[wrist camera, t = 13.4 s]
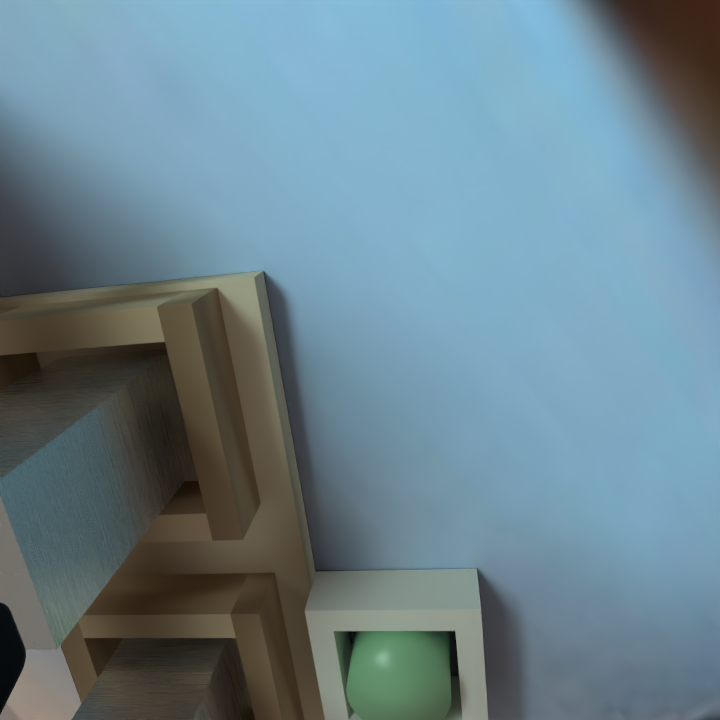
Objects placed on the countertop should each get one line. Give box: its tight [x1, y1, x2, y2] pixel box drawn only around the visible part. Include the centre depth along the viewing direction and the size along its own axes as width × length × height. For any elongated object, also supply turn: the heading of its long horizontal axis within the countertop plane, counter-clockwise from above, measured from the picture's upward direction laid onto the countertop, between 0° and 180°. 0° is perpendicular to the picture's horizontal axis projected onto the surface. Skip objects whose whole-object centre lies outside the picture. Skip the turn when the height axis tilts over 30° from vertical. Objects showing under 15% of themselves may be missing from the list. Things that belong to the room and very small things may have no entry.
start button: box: [346, 631, 451, 720], centre depth 21 cm, size 4×4×2 cm
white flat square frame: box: [305, 569, 488, 720], centre depth 21 cm, size 6×6×2 cm
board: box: [0, 271, 325, 720], centre depth 20 cm, size 10×19×3 cm, turn 7°
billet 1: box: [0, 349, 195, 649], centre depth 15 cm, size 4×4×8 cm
